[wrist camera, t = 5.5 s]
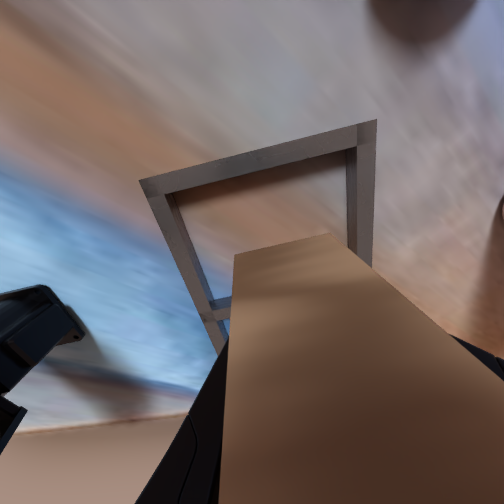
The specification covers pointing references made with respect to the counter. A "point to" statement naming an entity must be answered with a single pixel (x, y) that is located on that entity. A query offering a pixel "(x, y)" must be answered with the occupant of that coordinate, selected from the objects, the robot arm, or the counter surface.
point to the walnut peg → (350, 390)
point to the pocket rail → (161, 186)
